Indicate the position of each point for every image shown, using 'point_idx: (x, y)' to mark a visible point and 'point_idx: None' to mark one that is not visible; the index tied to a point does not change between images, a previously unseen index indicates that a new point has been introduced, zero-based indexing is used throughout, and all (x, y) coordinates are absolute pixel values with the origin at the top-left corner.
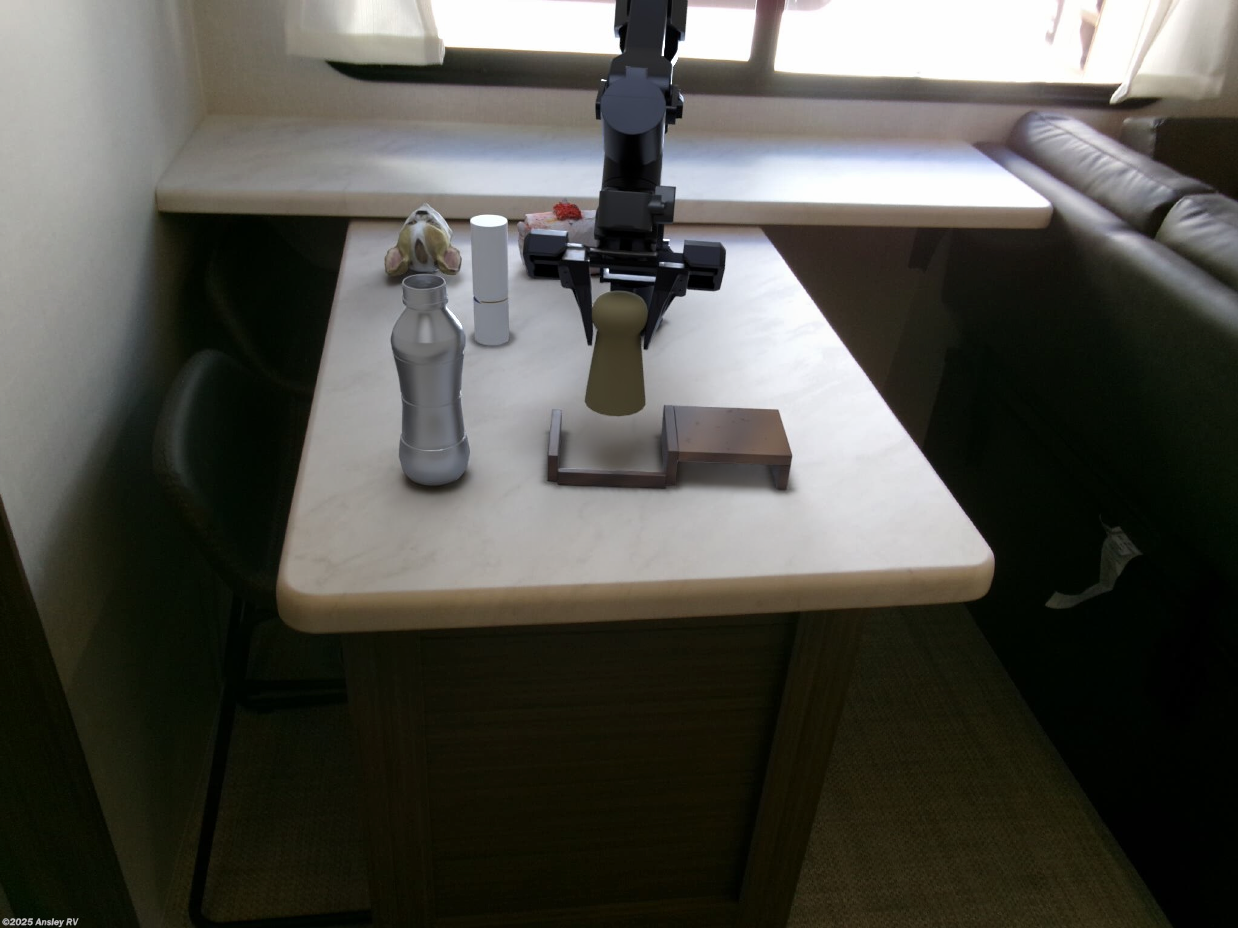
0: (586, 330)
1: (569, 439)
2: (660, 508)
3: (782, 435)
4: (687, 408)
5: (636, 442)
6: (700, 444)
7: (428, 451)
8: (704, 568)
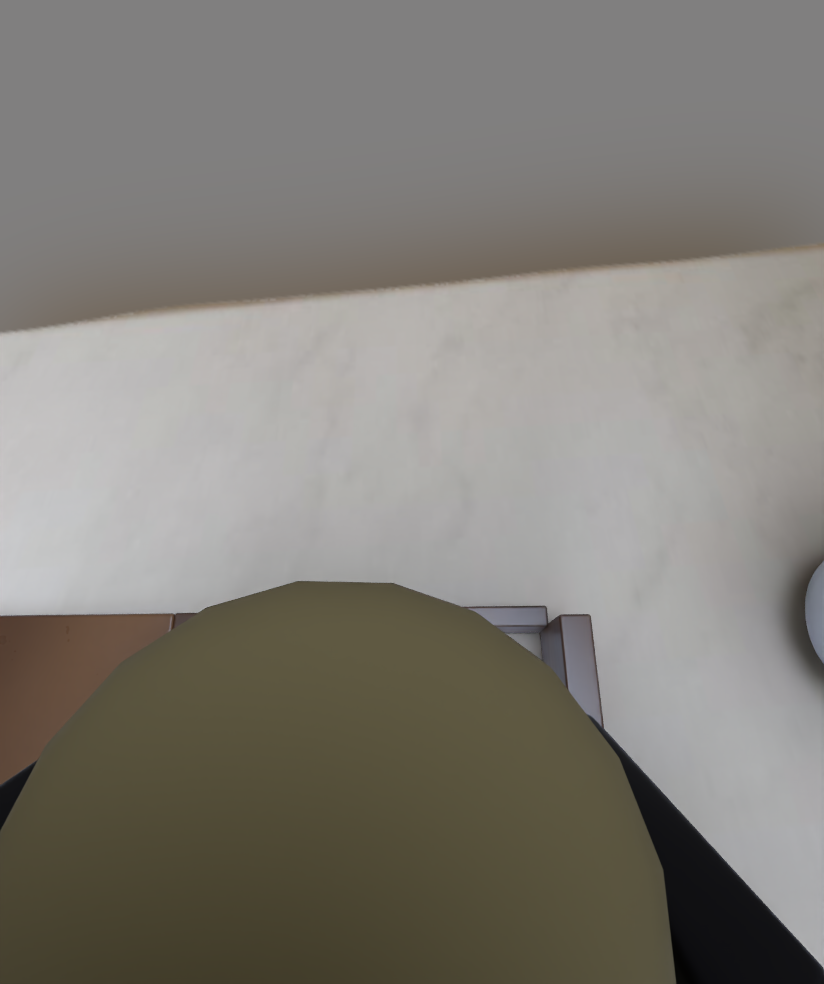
0: (626, 767)
1: None
2: (269, 528)
3: None
4: None
5: None
6: (90, 662)
7: None
8: (204, 335)
